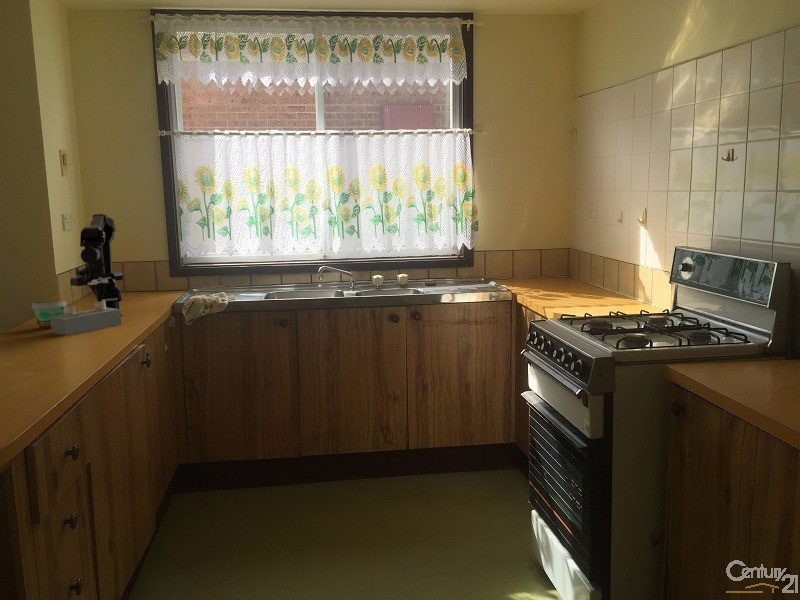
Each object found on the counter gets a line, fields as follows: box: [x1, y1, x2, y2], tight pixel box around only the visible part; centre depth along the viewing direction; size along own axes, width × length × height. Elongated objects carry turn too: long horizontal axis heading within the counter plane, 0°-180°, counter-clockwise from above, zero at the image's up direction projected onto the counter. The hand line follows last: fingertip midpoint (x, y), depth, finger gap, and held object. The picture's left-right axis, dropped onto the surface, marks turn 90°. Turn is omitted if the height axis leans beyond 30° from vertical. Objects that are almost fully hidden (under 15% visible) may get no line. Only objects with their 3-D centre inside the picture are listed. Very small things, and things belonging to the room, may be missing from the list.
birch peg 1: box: [63, 304, 77, 317], centre depth 263 cm, size 4×4×6 cm
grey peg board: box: [50, 307, 122, 337], centre depth 268 cm, size 22×10×6 cm, turn 143°
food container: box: [31, 299, 68, 330], centre depth 272 cm, size 12×6×10 cm, turn 105°
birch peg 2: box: [93, 299, 106, 312], centre depth 273 cm, size 4×4×6 cm
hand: (99, 301), depth 272 cm, fingers closed, pressing on birch peg 2
